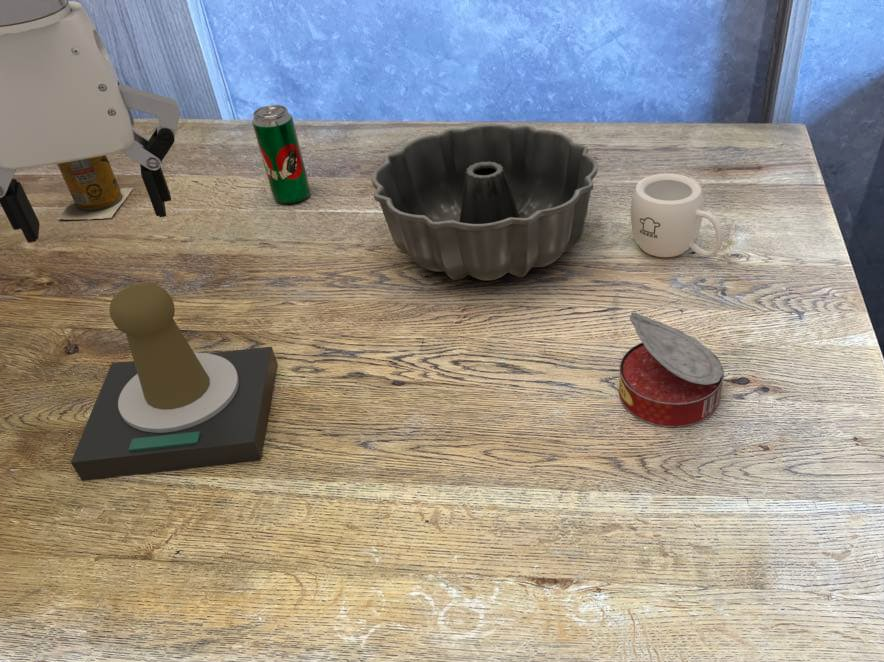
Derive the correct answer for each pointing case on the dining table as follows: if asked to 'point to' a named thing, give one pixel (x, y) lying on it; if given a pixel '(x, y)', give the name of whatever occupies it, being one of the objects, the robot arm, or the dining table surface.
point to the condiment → (91, 189)
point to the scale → (179, 420)
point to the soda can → (281, 154)
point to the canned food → (669, 376)
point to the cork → (158, 347)
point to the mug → (670, 215)
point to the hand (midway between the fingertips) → (99, 221)
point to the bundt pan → (486, 198)
